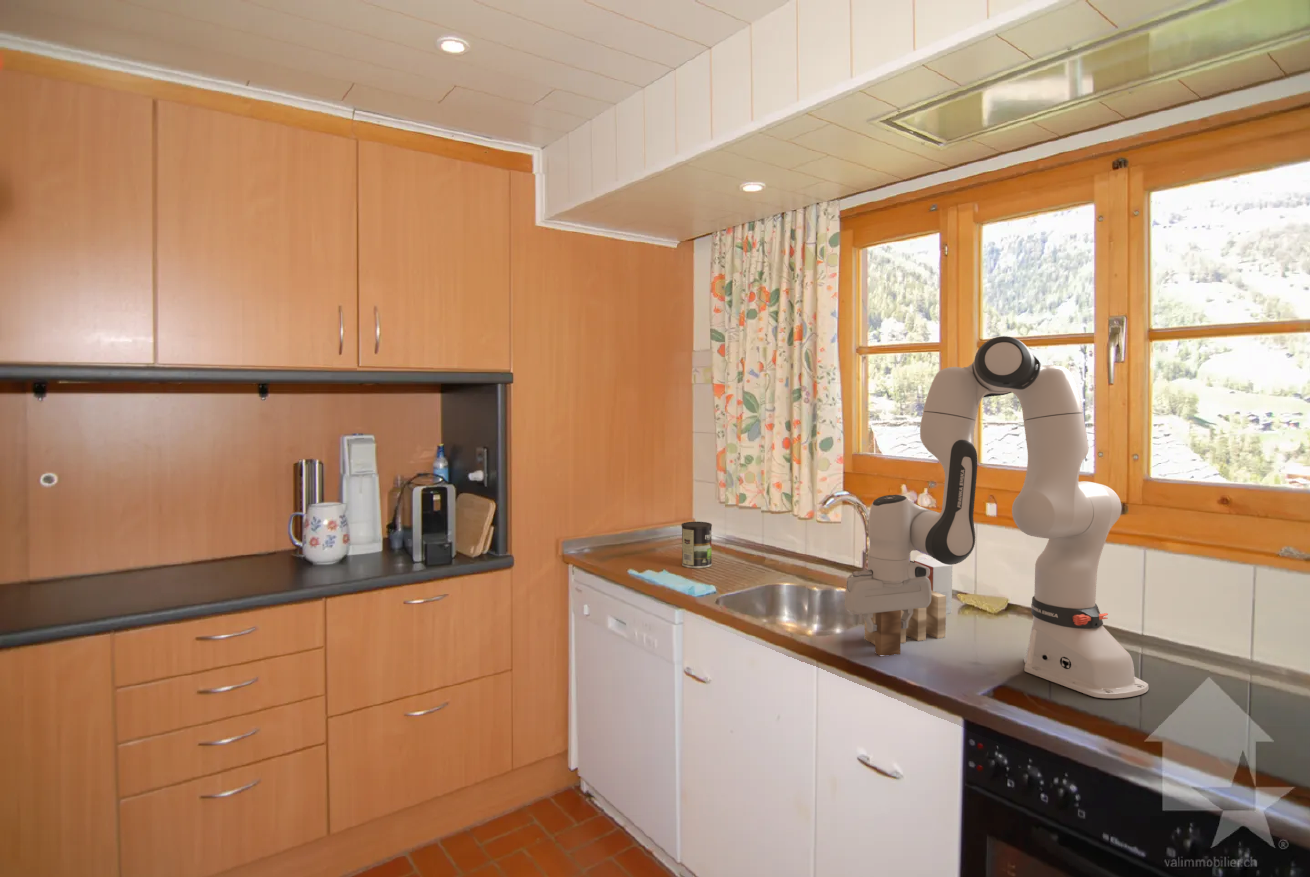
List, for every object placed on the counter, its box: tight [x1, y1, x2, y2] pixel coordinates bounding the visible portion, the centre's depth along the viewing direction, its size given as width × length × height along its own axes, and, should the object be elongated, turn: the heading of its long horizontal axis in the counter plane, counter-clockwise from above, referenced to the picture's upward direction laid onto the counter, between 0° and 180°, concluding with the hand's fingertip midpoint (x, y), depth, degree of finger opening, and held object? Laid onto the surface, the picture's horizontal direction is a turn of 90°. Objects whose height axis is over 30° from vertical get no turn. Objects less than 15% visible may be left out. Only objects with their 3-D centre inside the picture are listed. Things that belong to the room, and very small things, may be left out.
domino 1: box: [864, 613, 876, 646], centre depth 161 cm, size 5×2×10 cm, turn 17°
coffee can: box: [681, 521, 713, 569], centre depth 236 cm, size 10×10×14 cm
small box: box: [913, 558, 953, 615], centre depth 185 cm, size 8×6×13 cm
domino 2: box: [874, 610, 902, 656], centre depth 154 cm, size 5×2×10 cm, turn 107°
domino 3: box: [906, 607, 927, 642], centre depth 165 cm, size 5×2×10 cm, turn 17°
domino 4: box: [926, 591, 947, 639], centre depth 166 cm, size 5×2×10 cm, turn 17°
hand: (887, 629), depth 155 cm, fingers open, 7 cm apart
